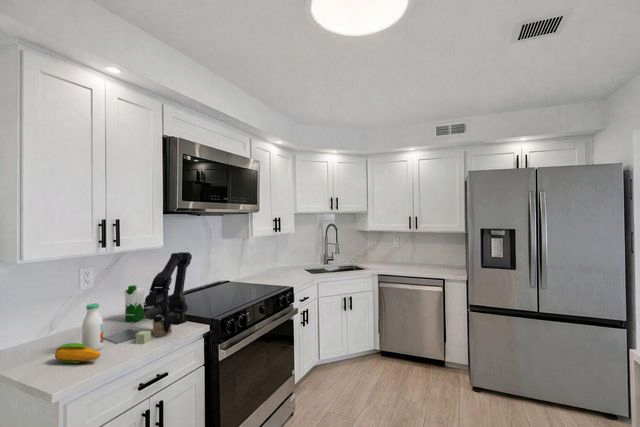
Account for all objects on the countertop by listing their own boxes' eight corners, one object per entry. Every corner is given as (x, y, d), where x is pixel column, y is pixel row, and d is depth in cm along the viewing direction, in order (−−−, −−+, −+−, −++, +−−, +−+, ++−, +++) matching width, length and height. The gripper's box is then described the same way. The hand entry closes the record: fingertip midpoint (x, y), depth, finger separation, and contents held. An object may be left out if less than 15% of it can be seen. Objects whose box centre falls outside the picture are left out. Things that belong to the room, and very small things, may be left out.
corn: (65, 338, 137) (107, 340, 134) (66, 355, 137) (108, 358, 135) (48, 346, 129) (92, 349, 127) (49, 365, 130) (94, 367, 127)
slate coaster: (129, 330, 168) (129, 329, 168) (144, 334, 161) (144, 333, 161) (102, 338, 157) (102, 337, 157) (117, 343, 150) (117, 342, 150)
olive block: (142, 339, 155) (142, 330, 155) (150, 340, 154) (150, 331, 154) (135, 343, 150) (135, 333, 150) (144, 344, 150) (144, 334, 150)
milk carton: (122, 322, 180) (122, 287, 180) (133, 317, 189) (133, 283, 189) (137, 323, 179) (136, 287, 179) (147, 317, 188) (147, 283, 188)
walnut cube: (164, 330, 167) (164, 319, 167) (171, 332, 164) (171, 320, 164) (153, 334, 162) (153, 322, 162) (160, 336, 159) (160, 324, 159)
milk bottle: (96, 352, 141) (96, 306, 141) (78, 352, 140) (77, 307, 140) (107, 345, 149) (106, 301, 149) (89, 345, 148) (89, 302, 148)
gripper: (135, 302, 160) (135, 333, 160) (158, 307, 151) (158, 340, 151) (156, 297, 170) (156, 326, 170) (179, 301, 161) (179, 332, 161)
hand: (162, 331), depth 163 cm, fingers closed on walnut cube, 6 cm apart
